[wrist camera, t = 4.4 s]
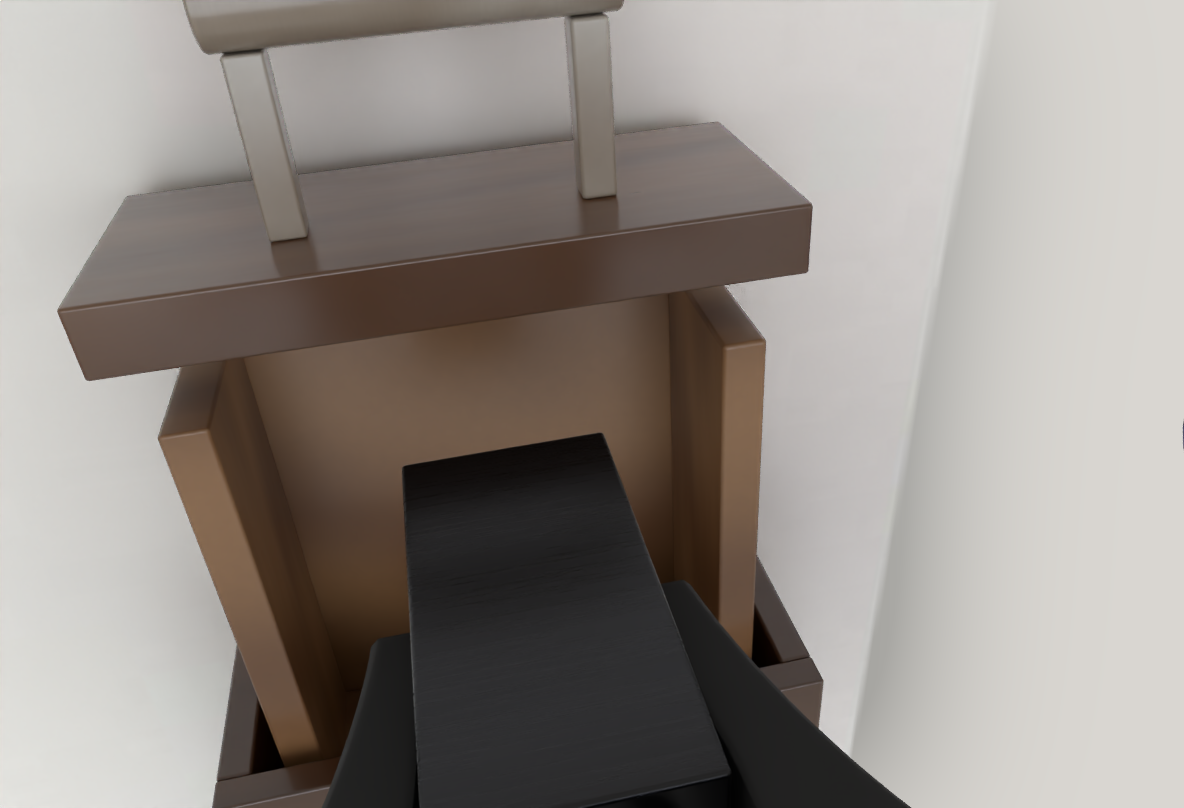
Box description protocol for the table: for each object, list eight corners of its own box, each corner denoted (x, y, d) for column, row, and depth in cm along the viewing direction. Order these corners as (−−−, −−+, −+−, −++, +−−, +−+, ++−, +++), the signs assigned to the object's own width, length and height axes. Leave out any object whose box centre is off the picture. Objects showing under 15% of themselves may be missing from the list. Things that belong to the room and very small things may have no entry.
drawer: (35, -62, 15) (-83, -16, 11) (722, -124, 16) (835, -102, 12) (297, 691, 24) (285, 859, 20) (713, 608, 26) (775, 750, 22)
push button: (603, 429, 14) (771, 870, 8) (616, 620, 16) (757, 1075, 10) (400, 464, 14) (425, 952, 8) (442, 655, 16) (486, 1147, 10)
